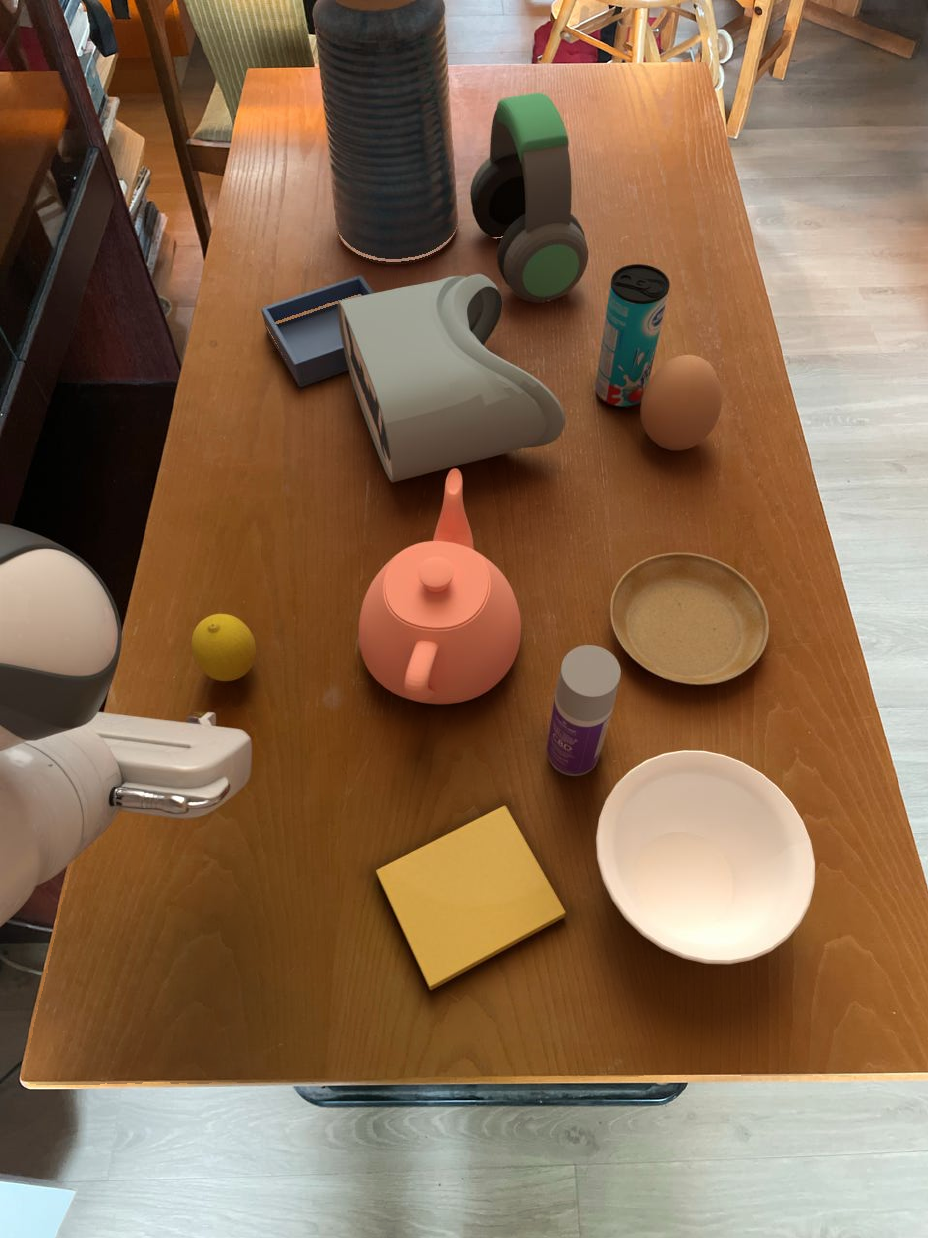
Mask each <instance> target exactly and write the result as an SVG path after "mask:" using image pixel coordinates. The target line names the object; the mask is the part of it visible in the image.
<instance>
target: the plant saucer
mask: <svg viewBox="0 0 928 1238" xmlns="http://www.w3.org/2000/svg"><path fill="white" fill-rule="evenodd" d="M768 615H769V613H768V611H767V608H766V605H765V603H764V601H763V599H762V597H761V595H760V594H759V592H758V591H757V589H756V588H755V587H754V585H753V584H752V583H751V582H750V581H749V580H748V579H747V578H746V577H745V576H744V574H741V572H738V571H737V570H736V569H735V568H734V567H732V566H730V565H728V564H726V563H724V562H723V561H720V560H718V559H716V558H713V557H711V556H708V555H703V554H698V553H695V552H694V553H693V552H667V553H661V554H657V555H654V556H650V557H647V558H646V559H644V560H641V561H639V562H638V563H636V564H634V565H633V566H632V567H630V568H629V569H628V570H627V571H626V572H625V573H624V574H623V575H622V576H621V577H620V579H619V580H618V582H617V583H616V586H615V587H614V589H613V592H612V594H611V598H610V604H609V616H610V622H611V627H612V629H613V632H614V634H615V637H616V639H617V641H618V642H619V644H620V645H621V647H622V649H624V651H625V652H626V653H627V655H629V656H630V657H631V658H632V659H633V660H634V661H635V662H636V663H637V664H638V665H640V666H641V667H642V668H644V669H645V670H647V671H648V672H650V673H652V674H654V675H656V676H658V677H660V678H663V679H665V680H668V681H672V682H676V683H679V684H685V685H697V686H701V685H702V686H704V685H715V684H718V683H723V682H726V681H729V680H732V679H735V678H736V677H739V676H740V675H742V674H743V673H745V672H746V671H748V670H749V669H750V668H751V667H752V666H753V665H754V664H756V662H757V661H758V659H759V658H760V657H761V656H762V654H763V652H764V650H765V649H766V646H767V643H768V639H769V635H770V634H769V633H770V625H769V624H770V622H769V616H768Z"/></svg>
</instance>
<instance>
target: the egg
mask: <svg viewBox="0 0 928 1238" xmlns="http://www.w3.org/2000/svg"><path fill="white" fill-rule="evenodd" d="M720 382H721V381H720V378H719V377H718V374H717V372H716V370H715V369H714V367H713V365H711V364H710V363H709V362H708V361H707V360H706V359H705V358H703V357H700V356H698V355H693V354H684V355H678V356H675V357H673V358H671V359H669V360H668V361H666V362H664V364H662V365H661V366H660V367H658V369H657V370H656V371H655V373H653V375H652V376H650V378H649V382H648V384H647V385H646V388H645V390H644V393H643V397H642V401H641V402H640V420H641V423H642V427H643V429H644V431H645V433H646V434H647V436H648V437H649V439H650V440H651V441H653V442H654V443H655V444H656V445H658V446H659V447H660V448H662V449H666V450H670V451H685V450H688V449H691V448H694V447H695V446H697V445H698V444H700V443H702V442H703V441H704V440H706V439H707V437H708V436H709V435H710V434H711V433H712V432H713V430H714V429H715V427H716V425H717V423H718V421H719V418H720V414H721V411H722V407H723V390H722V386H721V383H720Z"/></svg>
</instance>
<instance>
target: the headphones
mask: <svg viewBox="0 0 928 1238" xmlns="http://www.w3.org/2000/svg"><path fill="white" fill-rule="evenodd" d="M498 100H499V99H498ZM569 144H570V143H569V137H568V132H567V128H566V126H565V123H564V121H563V118H562V116H561V114H560V112H559V110H558V109H557V107H556V105H555V104H554V101H552V99H551V98H550V97H549V96H548V95H547V94H545V93H543V92H533V93H527V94H521V95H515V96H509V97H503V98H501V99H500V100H499V101H498V102H497V105H496V109H495V111H494V113H493V118H492V123H491V130H490V144H489V145H490V146H489V157H488V158H487V159H486V160H485V161H484V162H483V163H482V164H481V165H480V166H479V168H478V169H477V171H476V172H475V174H474V175H473V178H472V181H471V184H470V193H469V196H470V204H471V208H472V214H473V216H474V219H475V221H476V224H477V225H478V227H479V229H480V230H481V231H482V232H483V233H484V234H485V235H486V236H488V237H490V238H491V237H501V236H503V237H502V238H497V239H496V240H497V241H499V244H498V247H497V253H496V254H497V255H496V263H497V268H498V270H499V273H500V276H501V277H502V279H503V281H504V282H505V284H506V285H507V286H509V288H510V289H511V291H512V292H513V293H514V294H515V295H516V296H517V297H518V298H520V299H522V300H524V301H527V302H530V303H531V302H532V303H547V302H551V301H555V300H557V299H559V298H561V297H563V296H565V295H566V294H568V293H569V292H570V291H572V290H573V289H574V288H575V287H576V285H577V284H578V283H579V282H580V280H581V279H582V277H583V275H584V273H585V271H586V269H587V266H588V262H589V248H588V244H587V243H588V242H587V240H586V237H585V232H584V230H583V228H582V225H581V224H580V222H579V220H578V219H577V218H576V217H575V216H574V215H573V214H572V194H573V193H572V192H573V191H572V189H573V188H572V168H571V167H572V166H571V159H570V152H569V151H570V150H569ZM558 297H559V298H558ZM556 298H557V299H556ZM553 299H554V300H553ZM548 300H550V301H548ZM543 301H544V302H543Z"/></svg>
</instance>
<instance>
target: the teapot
mask: <svg viewBox="0 0 928 1238" xmlns="http://www.w3.org/2000/svg"><path fill="white" fill-rule="evenodd" d="M474 548H475V547H474V539H473V533H472V529H471V526H470V524H469V520H468V517H467V514H466V510H465V506H464V500H463V475H462V472H461V471H460V470H459V468H456V467H455V468H454V467H453V468H452V469H450V471H448V474H447V476H446V479H445V484H444V496H443V502H442V507H441V511H440V514H439V518H438V521H437V524H436V527H435V531H434V534H433V540H429V541H423V542H418V543H415V544H413V545H410V546H408V547H406V548H404V549H403V550H401V551H400V552H398V553H397V554H395V555H394V556H393V557H392V558H391V559H390V560H389V561H388V562H387V563H386V564H385V565H384V566H383V567H382V568H381V569H380V571H378V573H377V574H376V575H375V577H374V578H373V580H372V581H371V583H370V585H369V587H368V589H367V591H366V593H365V596H364V598H363V602H362V604H361V609H360V613H359V618H358V633H357V634H358V642H359V650H360V654H361V657H362V660H363V662H364V665H365V667H366V668H367V670H368V671H369V673H370V675H371V676H372V677H373V678H374V679H375V680H376V681H377V682H378V683H379V684H380V685H382V687H384V688H385V689H387V690H388V691H390V692H391V693H393V694H395V695H396V696H399V697H401V698H404V699H407V700H410V701H413V702H417V703H423V704H429V705H452V704H458V703H464V702H467V701H471V700H473V699H476V698H478V697H480V696H482V695H483V694H485V693H487V692H489V691H490V690H491V689H493V688H494V687H495V686H496V685H497V684H498V683H499V682H500V681H501V680H502V679H503V678H504V677H506V675H507V673H508V672H509V670H510V669H511V668H512V666H513V664H514V662H515V659H516V657H517V654H518V652H519V648H520V644H521V638H522V637H521V636H522V620H521V614H520V609H519V604H518V601H517V599H516V597H515V596H516V595H515V593H514V591H513V588H512V586H511V585H510V583H509V581H508V580H507V578H506V576H505V575H504V574H503V573H502V571H501V570H500V569H499V568H498V567H497V566H496V565H495V564H494V563H493V562H492V561H490V559H488V558H487V557H485V556H484V555H483V554H481V553H479V551H476V550H475V549H474Z"/></svg>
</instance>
